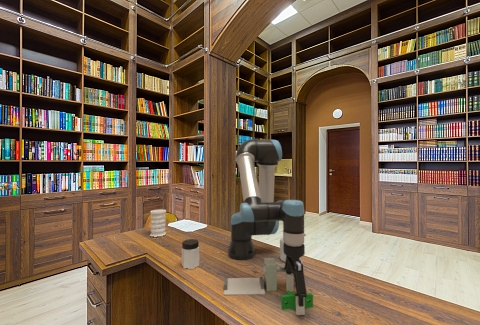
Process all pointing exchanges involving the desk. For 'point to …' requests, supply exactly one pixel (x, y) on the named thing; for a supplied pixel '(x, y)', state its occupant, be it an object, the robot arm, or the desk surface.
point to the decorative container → (158, 222)
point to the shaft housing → (270, 274)
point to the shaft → (283, 267)
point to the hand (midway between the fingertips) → (294, 301)
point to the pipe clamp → (291, 300)
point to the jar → (190, 253)
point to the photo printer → (282, 250)
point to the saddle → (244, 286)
